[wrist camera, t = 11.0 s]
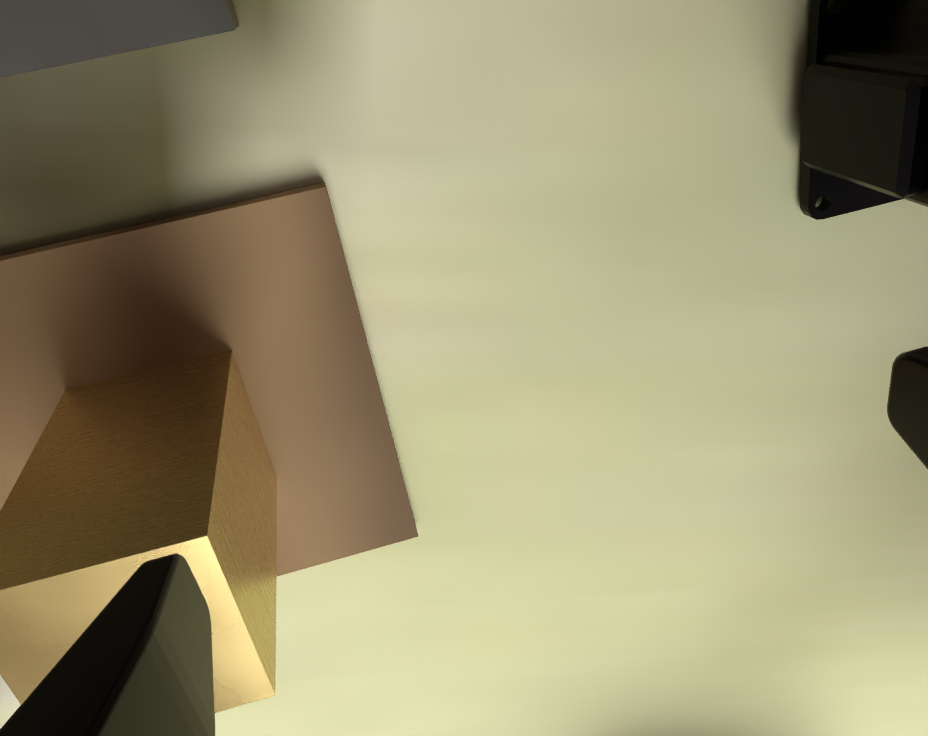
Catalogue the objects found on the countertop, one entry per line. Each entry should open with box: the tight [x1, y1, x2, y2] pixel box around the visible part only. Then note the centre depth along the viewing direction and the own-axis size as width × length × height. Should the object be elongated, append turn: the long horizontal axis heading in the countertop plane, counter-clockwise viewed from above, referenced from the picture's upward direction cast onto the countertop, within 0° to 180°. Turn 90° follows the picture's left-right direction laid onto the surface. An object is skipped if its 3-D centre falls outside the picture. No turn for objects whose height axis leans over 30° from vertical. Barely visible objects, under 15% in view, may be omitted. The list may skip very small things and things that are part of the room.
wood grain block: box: [0, 350, 277, 713], centre depth 18 cm, size 4×4×8 cm
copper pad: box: [0, 182, 418, 576], centre depth 22 cm, size 12×12×1 cm
